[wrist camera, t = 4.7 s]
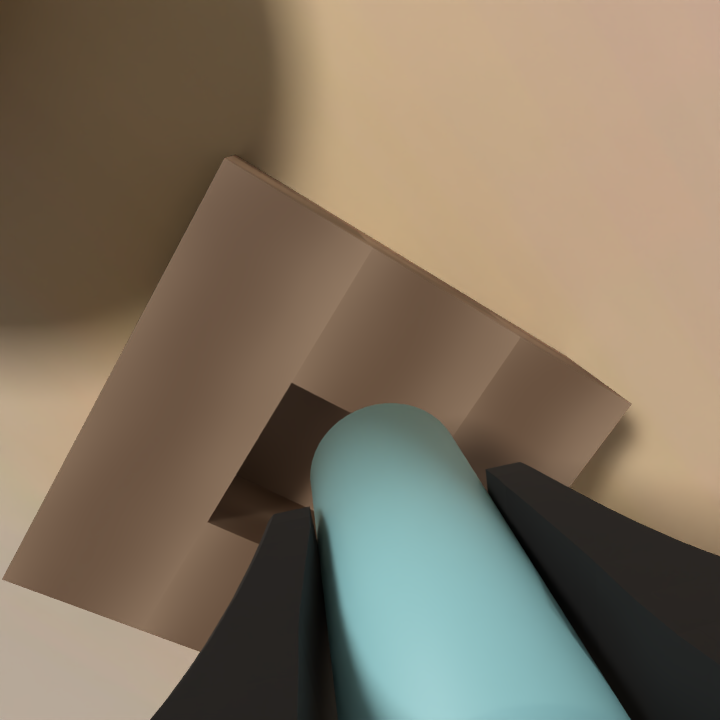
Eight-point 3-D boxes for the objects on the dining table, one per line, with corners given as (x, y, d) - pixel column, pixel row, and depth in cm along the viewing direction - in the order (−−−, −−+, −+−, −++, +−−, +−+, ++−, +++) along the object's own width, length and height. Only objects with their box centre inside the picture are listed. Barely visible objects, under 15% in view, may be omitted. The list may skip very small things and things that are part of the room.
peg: (483, 429, 13) (718, 737, 6) (424, 554, 13) (574, 950, 7) (342, 382, 12) (431, 673, 5) (288, 517, 13) (306, 921, 6)
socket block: (566, 356, 21) (631, 404, 17) (373, 628, 23) (392, 722, 19) (235, 154, 17) (224, 157, 14) (53, 497, 20) (2, 579, 16)
